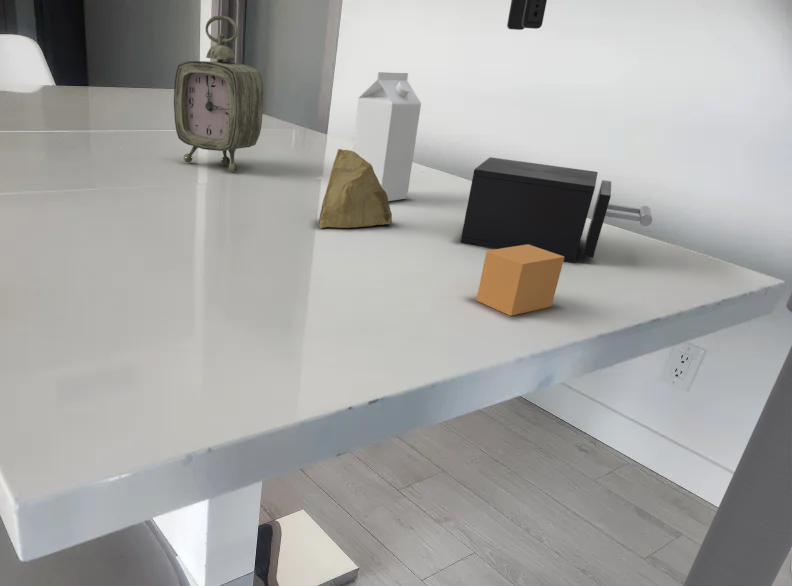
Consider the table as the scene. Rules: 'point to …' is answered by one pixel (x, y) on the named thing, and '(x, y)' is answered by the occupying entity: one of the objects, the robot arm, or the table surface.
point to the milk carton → (388, 131)
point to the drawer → (601, 212)
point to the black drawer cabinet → (528, 206)
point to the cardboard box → (519, 279)
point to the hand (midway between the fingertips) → (522, 28)
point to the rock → (354, 195)
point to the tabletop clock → (218, 101)
